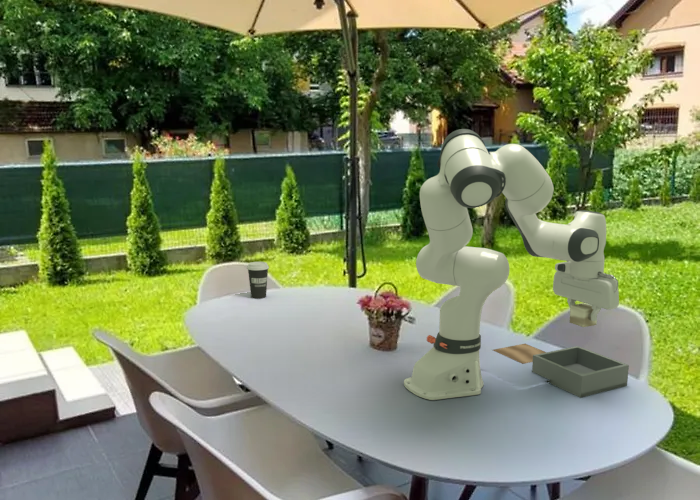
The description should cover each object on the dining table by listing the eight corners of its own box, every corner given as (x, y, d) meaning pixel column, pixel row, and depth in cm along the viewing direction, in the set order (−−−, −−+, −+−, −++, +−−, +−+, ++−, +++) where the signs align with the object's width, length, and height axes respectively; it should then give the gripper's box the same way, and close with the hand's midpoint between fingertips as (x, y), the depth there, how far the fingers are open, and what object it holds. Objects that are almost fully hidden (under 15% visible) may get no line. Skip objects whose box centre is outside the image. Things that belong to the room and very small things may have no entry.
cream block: (583, 327, 165) (584, 309, 164) (569, 322, 169) (570, 305, 168) (596, 324, 167) (597, 307, 166) (582, 320, 172) (583, 303, 171)
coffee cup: (244, 299, 260) (243, 265, 258) (251, 293, 269) (250, 261, 267) (265, 300, 259) (265, 265, 256) (272, 294, 268) (271, 261, 265)
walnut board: (522, 367, 181) (522, 363, 181) (491, 352, 193) (492, 349, 193) (556, 359, 187) (556, 356, 187) (524, 346, 200) (525, 343, 199)
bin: (580, 397, 159) (582, 376, 158) (531, 374, 175) (533, 355, 174) (627, 385, 167) (628, 365, 166) (576, 364, 183) (577, 345, 182)
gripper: (626, 275, 158) (622, 325, 160) (566, 261, 176) (563, 307, 178) (609, 277, 155) (605, 329, 157) (550, 263, 173) (547, 309, 175)
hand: (583, 317), depth 168 cm, fingers closed on cream block, 5 cm apart
